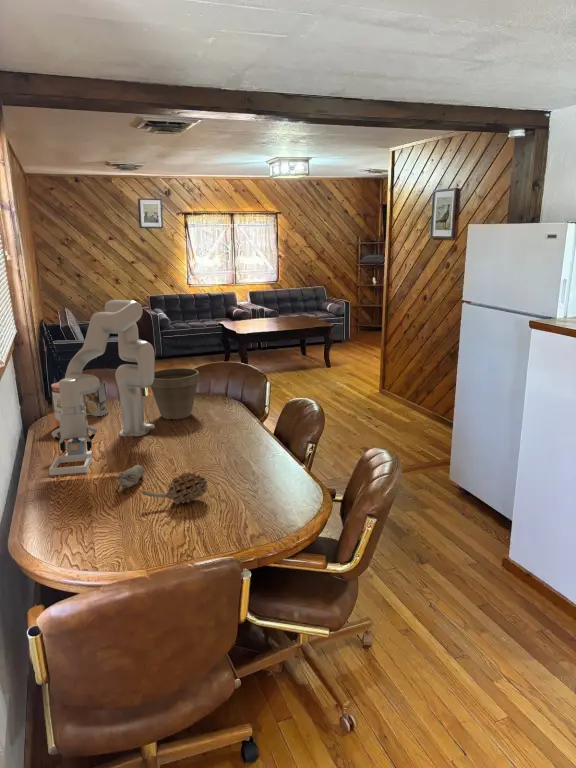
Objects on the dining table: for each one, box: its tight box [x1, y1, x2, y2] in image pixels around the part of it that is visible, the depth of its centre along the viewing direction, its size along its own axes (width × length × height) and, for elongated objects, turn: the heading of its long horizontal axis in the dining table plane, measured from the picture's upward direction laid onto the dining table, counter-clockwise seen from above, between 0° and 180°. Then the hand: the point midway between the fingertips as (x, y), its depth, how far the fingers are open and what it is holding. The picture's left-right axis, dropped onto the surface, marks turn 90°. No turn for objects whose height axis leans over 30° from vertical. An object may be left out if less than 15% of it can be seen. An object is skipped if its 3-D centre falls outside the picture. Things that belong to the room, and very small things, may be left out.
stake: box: [64, 438, 93, 456], centre depth 224 cm, size 10×9×8 cm
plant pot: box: [149, 367, 200, 420], centre depth 276 cm, size 25×25×22 cm
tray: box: [48, 453, 93, 477], centre depth 214 cm, size 13×13×4 cm
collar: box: [65, 437, 87, 455], centre depth 224 cm, size 6×7×6 cm
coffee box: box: [83, 382, 109, 417], centre depth 280 cm, size 9×6×16 cm
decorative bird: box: [114, 464, 145, 495], centre depth 198 cm, size 5×16×7 cm, turn 168°
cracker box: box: [50, 381, 86, 426], centre depth 261 cm, size 14×6×21 cm, turn 62°
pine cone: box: [139, 471, 209, 505], centre depth 184 cm, size 22×10×10 cm, turn 108°
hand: (76, 450), depth 224 cm, fingers open, 9 cm apart
